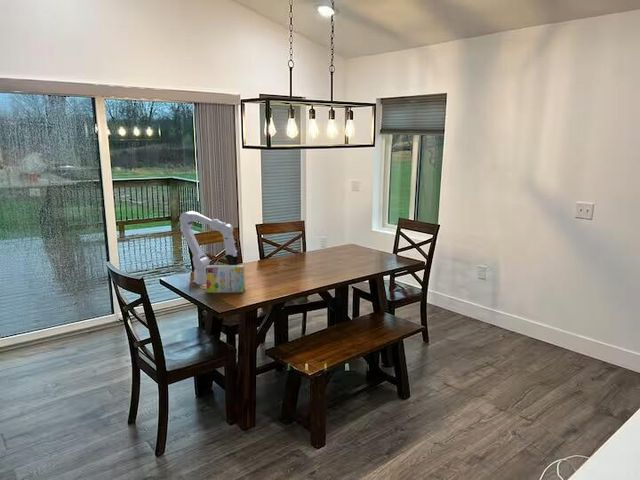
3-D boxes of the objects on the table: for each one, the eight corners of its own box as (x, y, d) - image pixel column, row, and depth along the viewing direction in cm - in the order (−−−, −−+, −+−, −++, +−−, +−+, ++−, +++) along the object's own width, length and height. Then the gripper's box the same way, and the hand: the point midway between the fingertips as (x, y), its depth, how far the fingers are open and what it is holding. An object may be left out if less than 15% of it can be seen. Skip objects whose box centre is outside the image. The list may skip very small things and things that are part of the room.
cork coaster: (197, 286, 273) (197, 285, 273) (211, 283, 278) (211, 282, 278) (203, 290, 266) (203, 289, 266) (218, 287, 271) (218, 286, 271)
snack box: (245, 289, 267) (244, 264, 264) (244, 292, 262) (243, 267, 259) (208, 290, 267) (207, 264, 264) (206, 293, 261) (205, 267, 258)
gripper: (240, 244, 267) (243, 267, 269) (232, 242, 280) (236, 264, 282) (228, 246, 264) (232, 269, 266) (221, 244, 276) (224, 266, 279)
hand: (233, 267), depth 274 cm, fingers open, 7 cm apart
